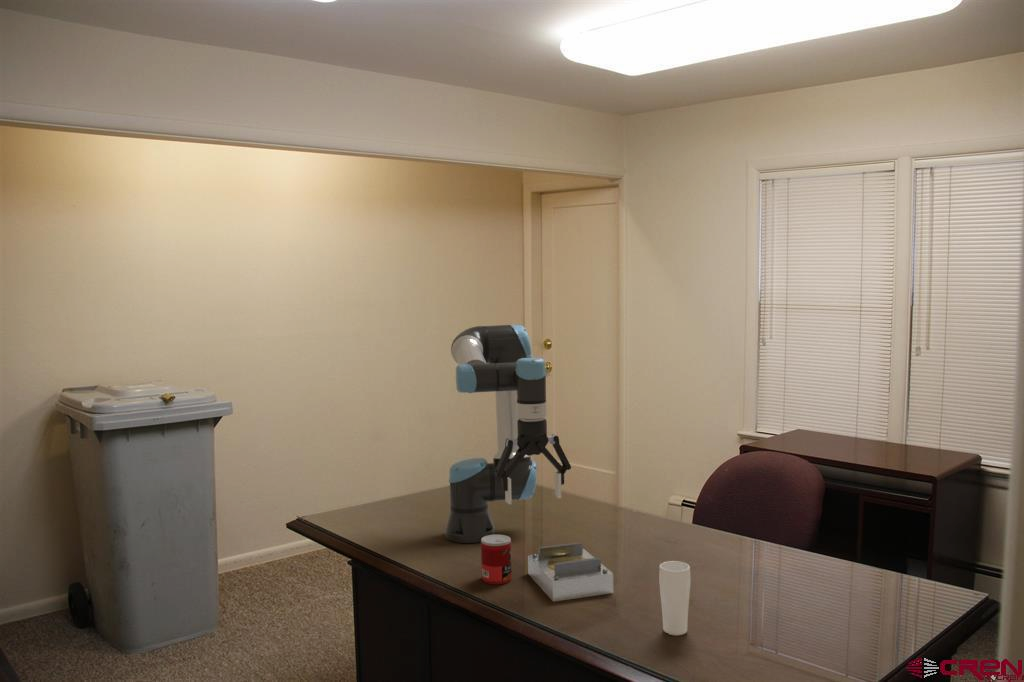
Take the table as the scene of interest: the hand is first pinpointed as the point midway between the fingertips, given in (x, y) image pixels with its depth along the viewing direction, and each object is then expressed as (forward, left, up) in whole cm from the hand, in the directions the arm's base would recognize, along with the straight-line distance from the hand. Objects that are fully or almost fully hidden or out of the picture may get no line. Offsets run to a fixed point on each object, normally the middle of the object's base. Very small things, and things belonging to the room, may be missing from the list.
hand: (533, 500), depth 213 cm
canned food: (-6, -9, -22) cm, 25 cm away
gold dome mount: (+3, +8, -22) cm, 24 cm away
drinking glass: (+38, +20, -22) cm, 48 cm away
